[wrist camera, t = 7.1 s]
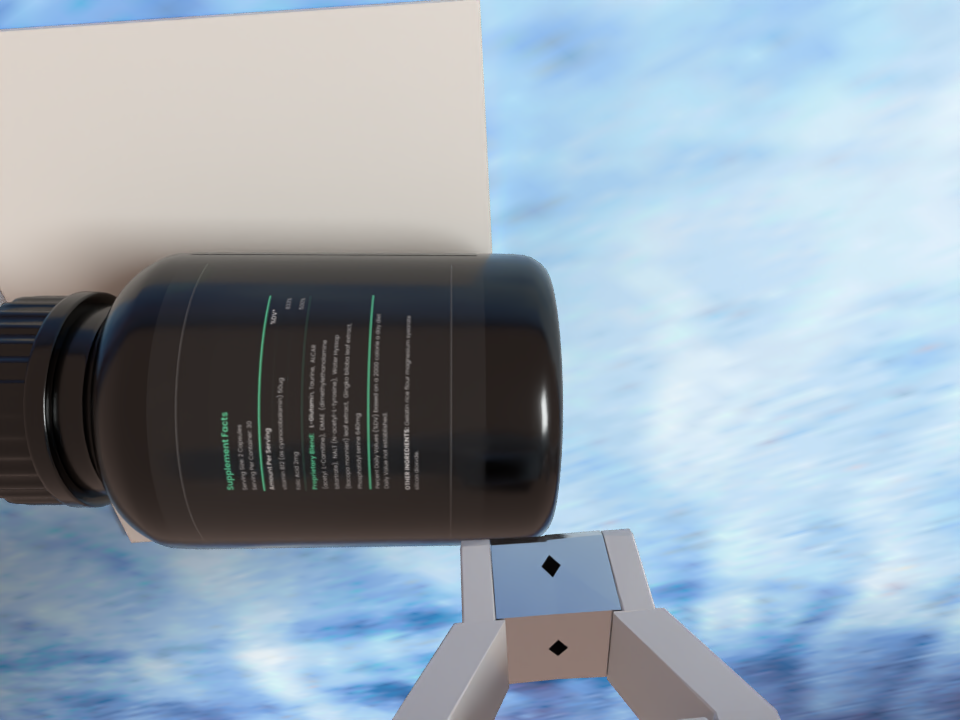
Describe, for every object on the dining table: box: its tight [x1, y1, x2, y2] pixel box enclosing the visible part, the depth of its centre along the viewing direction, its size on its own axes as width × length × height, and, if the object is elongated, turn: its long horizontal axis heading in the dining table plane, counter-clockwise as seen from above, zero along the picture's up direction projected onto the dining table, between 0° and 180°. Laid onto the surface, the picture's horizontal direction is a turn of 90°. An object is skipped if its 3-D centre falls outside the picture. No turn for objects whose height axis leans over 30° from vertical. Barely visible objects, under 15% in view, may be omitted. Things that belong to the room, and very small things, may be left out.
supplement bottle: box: [0, 252, 563, 549], centre depth 16 cm, size 7×7×12 cm
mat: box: [0, 0, 492, 543], centre depth 19 cm, size 16×13×1 cm
